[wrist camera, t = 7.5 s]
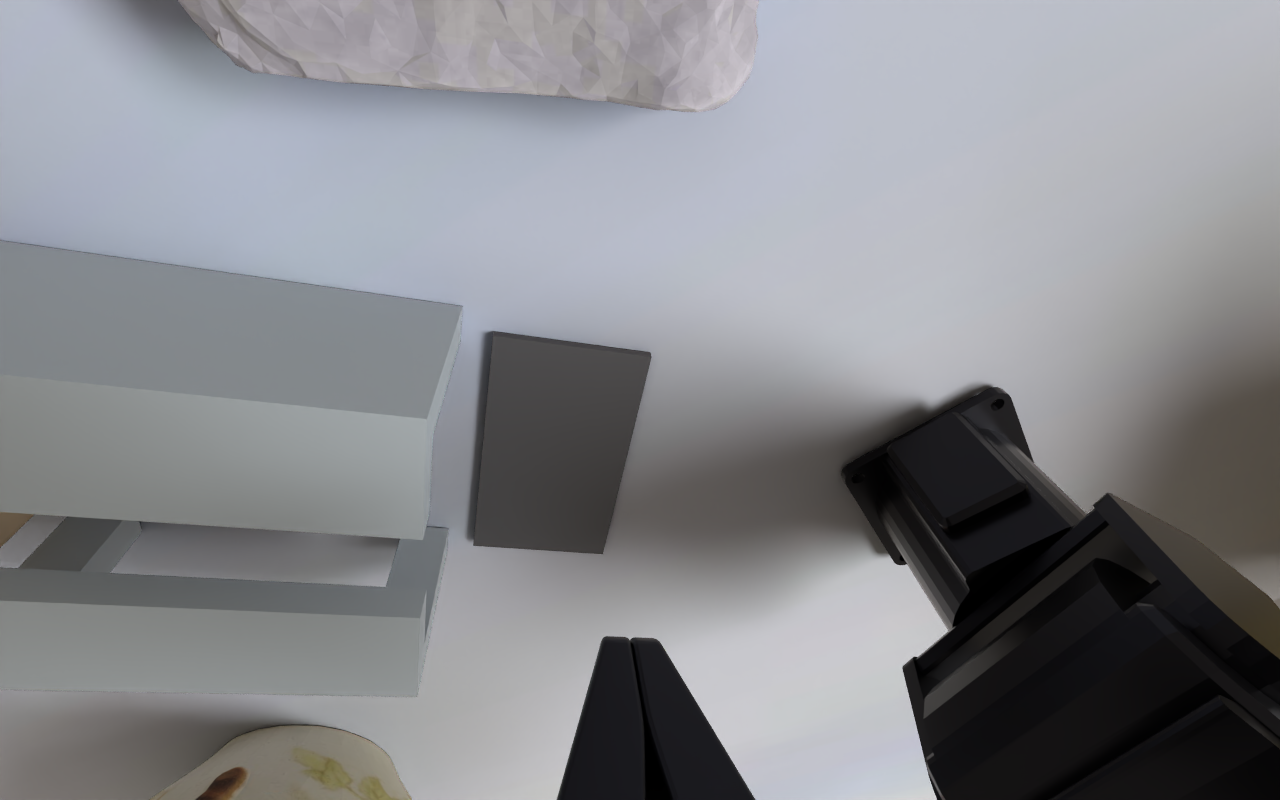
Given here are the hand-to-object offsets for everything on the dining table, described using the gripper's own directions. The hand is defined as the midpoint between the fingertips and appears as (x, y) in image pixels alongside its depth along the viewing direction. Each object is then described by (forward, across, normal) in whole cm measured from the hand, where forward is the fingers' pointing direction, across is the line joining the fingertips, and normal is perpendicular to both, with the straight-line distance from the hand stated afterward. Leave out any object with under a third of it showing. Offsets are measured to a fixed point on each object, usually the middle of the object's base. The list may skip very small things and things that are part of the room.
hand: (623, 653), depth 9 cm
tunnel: (+12, +10, +6) cm, 16 cm away
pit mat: (+12, 0, +6) cm, 13 cm away
